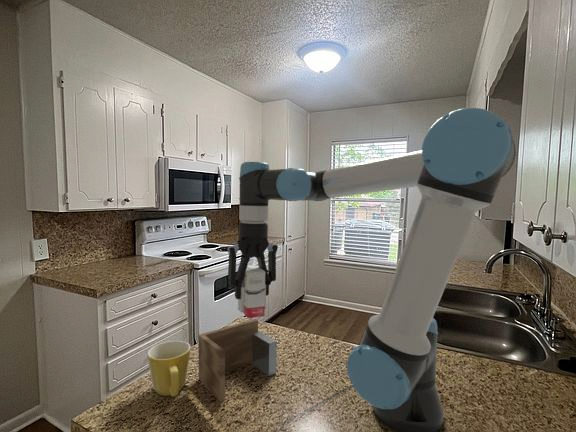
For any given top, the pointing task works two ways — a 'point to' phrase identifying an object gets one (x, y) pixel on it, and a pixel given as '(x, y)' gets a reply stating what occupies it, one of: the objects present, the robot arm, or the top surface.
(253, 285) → the ink box
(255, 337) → the bookend
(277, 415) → the top surface
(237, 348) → the wooden corner frame
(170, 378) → the mug
